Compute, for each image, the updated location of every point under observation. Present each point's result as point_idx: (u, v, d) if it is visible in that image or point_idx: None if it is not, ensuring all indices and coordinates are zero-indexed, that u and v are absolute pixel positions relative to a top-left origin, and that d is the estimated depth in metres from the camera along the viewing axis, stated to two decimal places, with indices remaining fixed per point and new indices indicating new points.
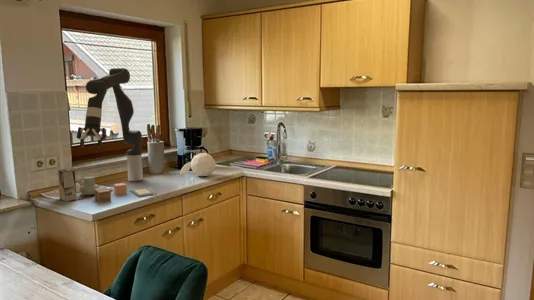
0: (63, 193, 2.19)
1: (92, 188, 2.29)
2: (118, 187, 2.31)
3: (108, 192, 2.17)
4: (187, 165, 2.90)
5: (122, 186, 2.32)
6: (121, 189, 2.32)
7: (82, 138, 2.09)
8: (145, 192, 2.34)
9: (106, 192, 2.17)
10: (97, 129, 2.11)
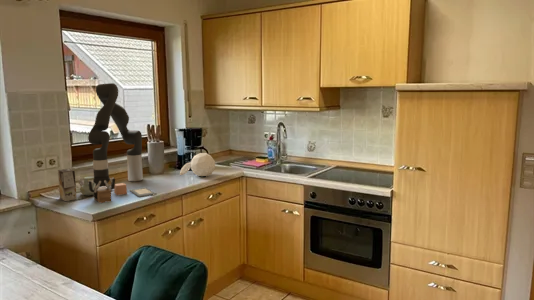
0: (63, 193, 2.19)
1: (92, 188, 2.29)
2: (118, 187, 2.31)
3: (108, 192, 2.18)
4: (187, 165, 2.90)
5: (122, 186, 2.32)
6: (121, 189, 2.32)
7: (96, 191, 2.17)
8: (145, 192, 2.34)
9: (106, 192, 2.17)
10: (108, 179, 2.20)
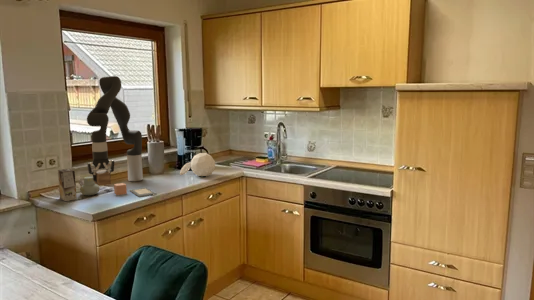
0: (63, 193, 2.19)
1: (92, 188, 2.29)
2: (118, 187, 2.31)
3: (108, 174, 2.16)
4: (187, 165, 2.90)
5: (122, 186, 2.32)
6: (121, 189, 2.32)
7: (95, 173, 2.16)
8: (145, 192, 2.34)
9: (106, 174, 2.16)
10: (107, 162, 2.19)
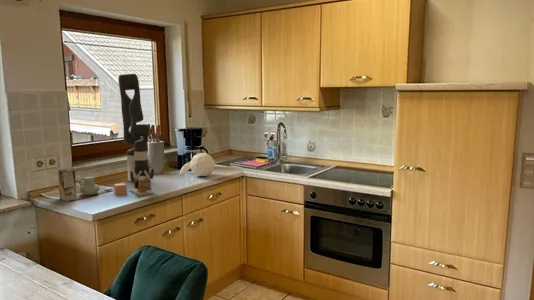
0: (63, 193, 2.19)
1: (92, 188, 2.29)
2: (118, 187, 2.31)
3: (148, 181, 2.33)
4: (186, 165, 2.90)
5: (122, 186, 2.32)
6: (121, 189, 2.32)
7: (137, 180, 2.33)
8: (145, 192, 2.34)
9: (147, 181, 2.32)
10: (147, 169, 2.35)
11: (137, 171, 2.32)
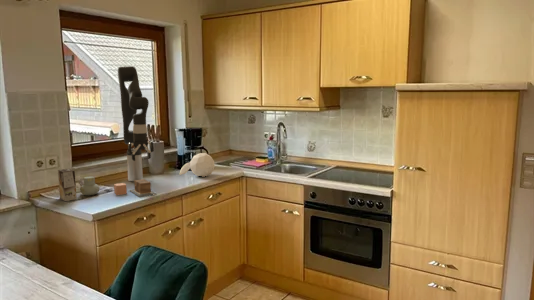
0: (63, 193, 2.19)
1: (92, 188, 2.29)
2: (118, 187, 2.31)
3: (148, 183, 2.33)
4: (186, 165, 2.90)
5: (122, 186, 2.32)
6: (121, 189, 2.32)
7: (134, 153, 2.30)
8: None
9: (147, 183, 2.32)
10: (146, 143, 2.33)
11: (136, 144, 2.30)
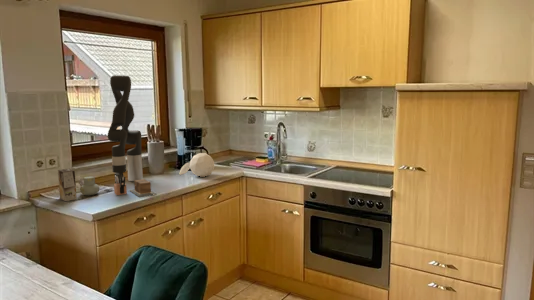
0: (63, 193, 2.19)
1: (92, 188, 2.29)
2: (118, 187, 2.31)
3: (148, 183, 2.33)
4: (186, 165, 2.89)
5: None
6: None
7: None
8: None
9: (147, 183, 2.32)
10: (119, 176, 2.30)
11: (116, 175, 2.35)
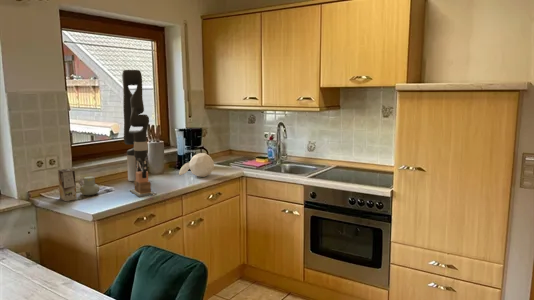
0: (63, 193, 2.19)
1: (92, 188, 2.29)
2: (140, 175, 2.32)
3: (148, 183, 2.33)
4: (186, 165, 2.89)
5: None
6: None
7: (137, 168, 2.37)
8: None
9: (147, 183, 2.32)
10: (141, 161, 2.30)
11: None
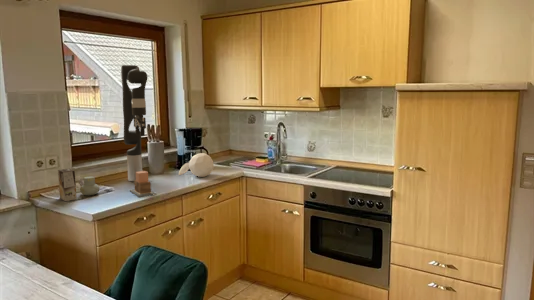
0: (63, 193, 2.19)
1: (92, 188, 2.29)
2: (140, 175, 2.32)
3: (148, 183, 2.33)
4: (186, 165, 2.89)
5: (144, 174, 2.33)
6: (143, 177, 2.33)
7: (135, 127, 2.33)
8: None
9: (147, 183, 2.32)
10: (139, 119, 2.27)
11: None
